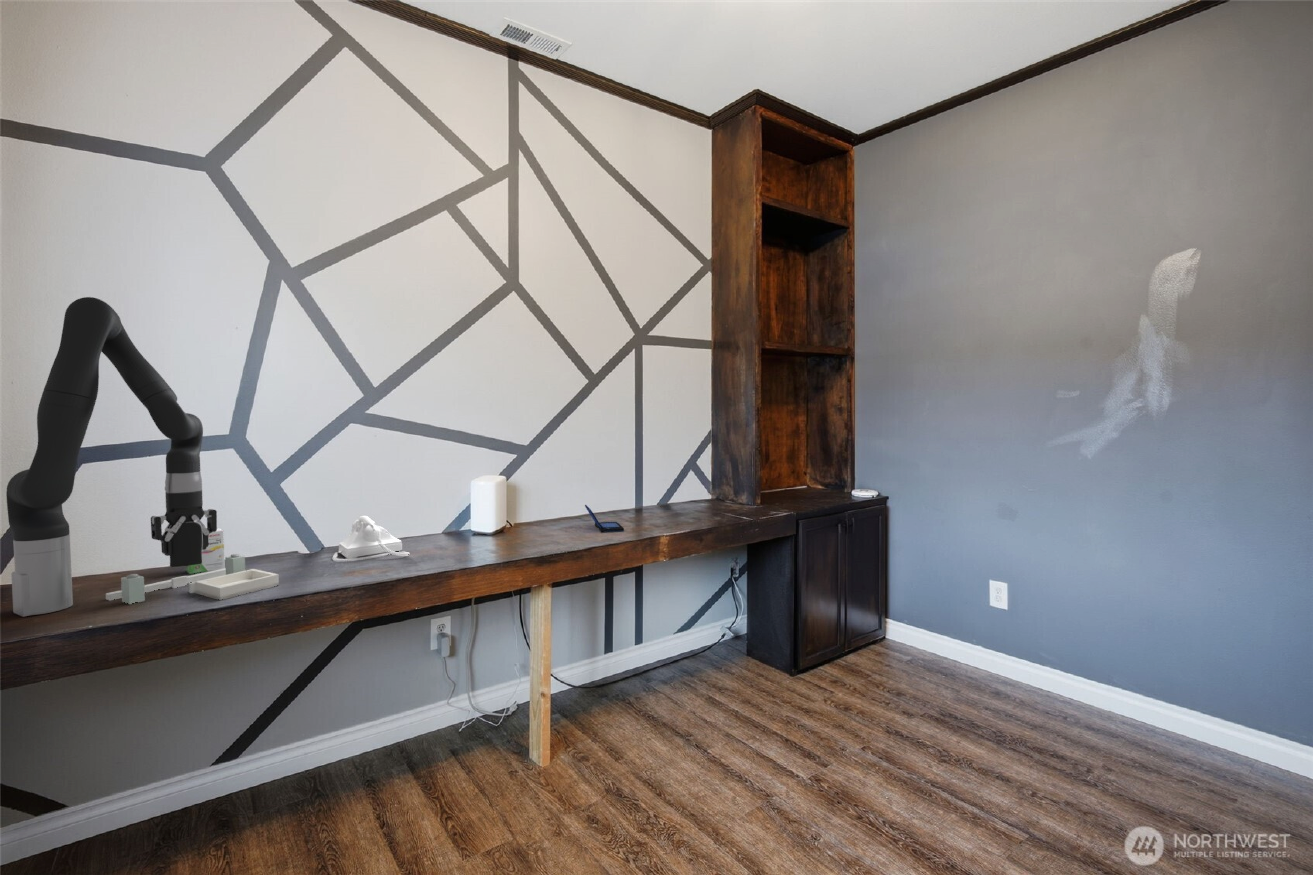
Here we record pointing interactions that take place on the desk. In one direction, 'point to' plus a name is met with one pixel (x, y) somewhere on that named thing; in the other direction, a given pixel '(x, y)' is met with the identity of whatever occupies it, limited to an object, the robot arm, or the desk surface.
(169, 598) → the desk surface
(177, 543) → the black rounded upright slab
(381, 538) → the telephone
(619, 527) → the handheld game console
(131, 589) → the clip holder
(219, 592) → the tray
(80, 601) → the desk surface
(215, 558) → the ink box
